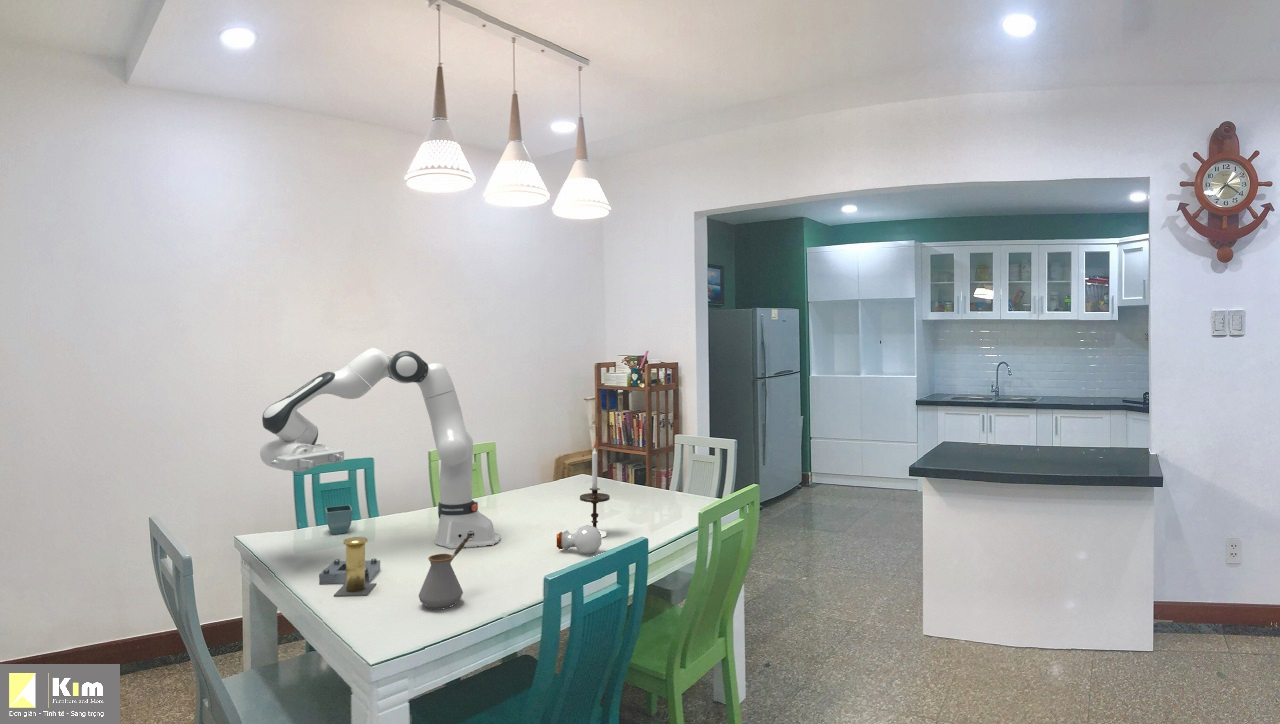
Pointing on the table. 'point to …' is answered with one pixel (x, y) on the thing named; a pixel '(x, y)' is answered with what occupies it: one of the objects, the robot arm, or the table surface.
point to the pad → (364, 592)
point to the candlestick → (594, 490)
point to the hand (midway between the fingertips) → (327, 461)
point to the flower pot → (339, 518)
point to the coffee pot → (441, 581)
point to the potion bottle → (580, 540)
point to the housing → (338, 572)
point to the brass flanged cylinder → (355, 563)
